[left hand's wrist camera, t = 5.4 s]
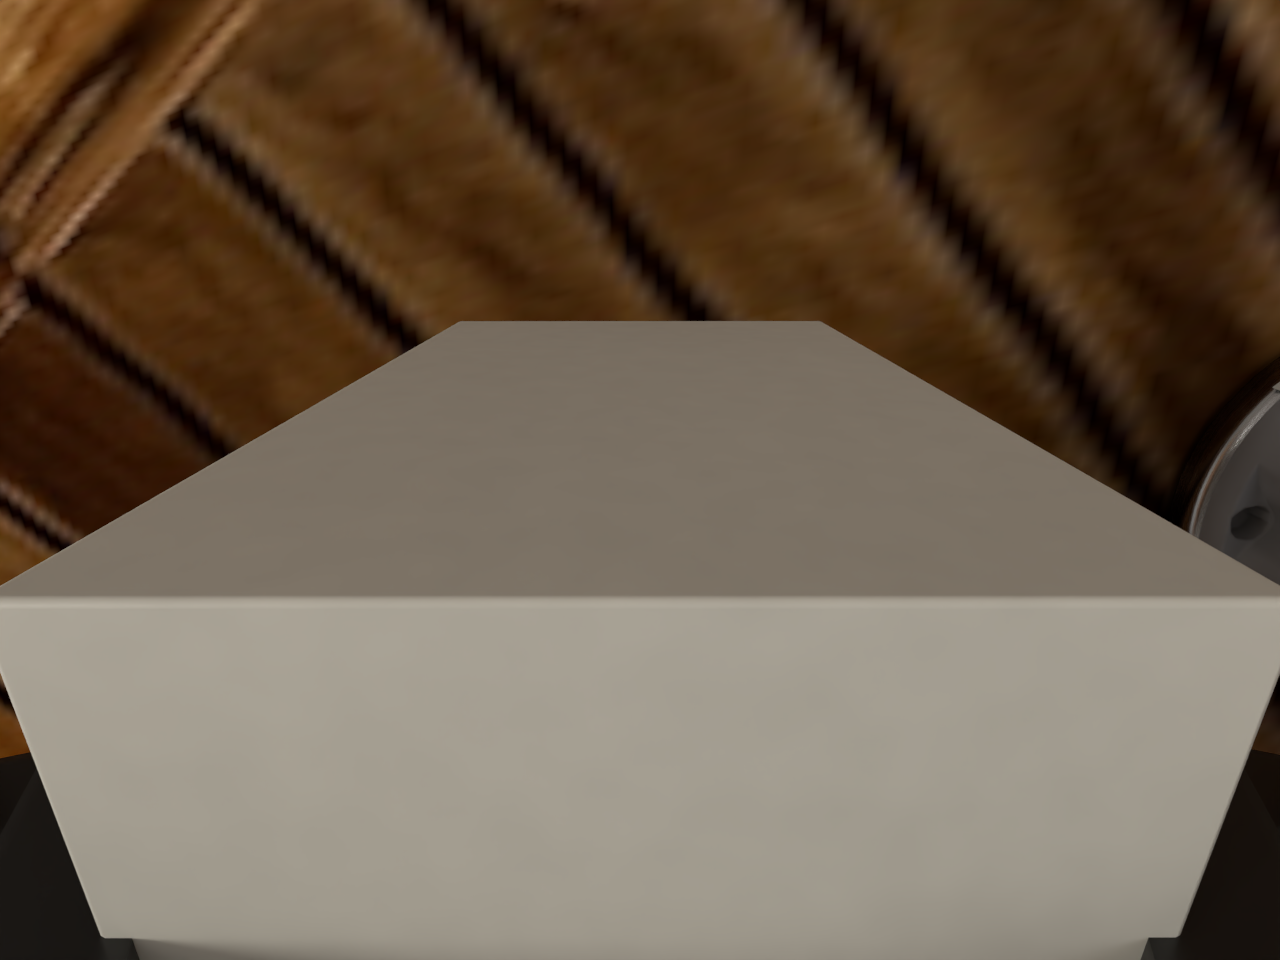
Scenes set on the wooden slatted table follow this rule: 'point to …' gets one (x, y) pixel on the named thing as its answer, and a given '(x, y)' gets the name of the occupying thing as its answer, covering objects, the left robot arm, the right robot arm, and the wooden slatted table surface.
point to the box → (640, 671)
